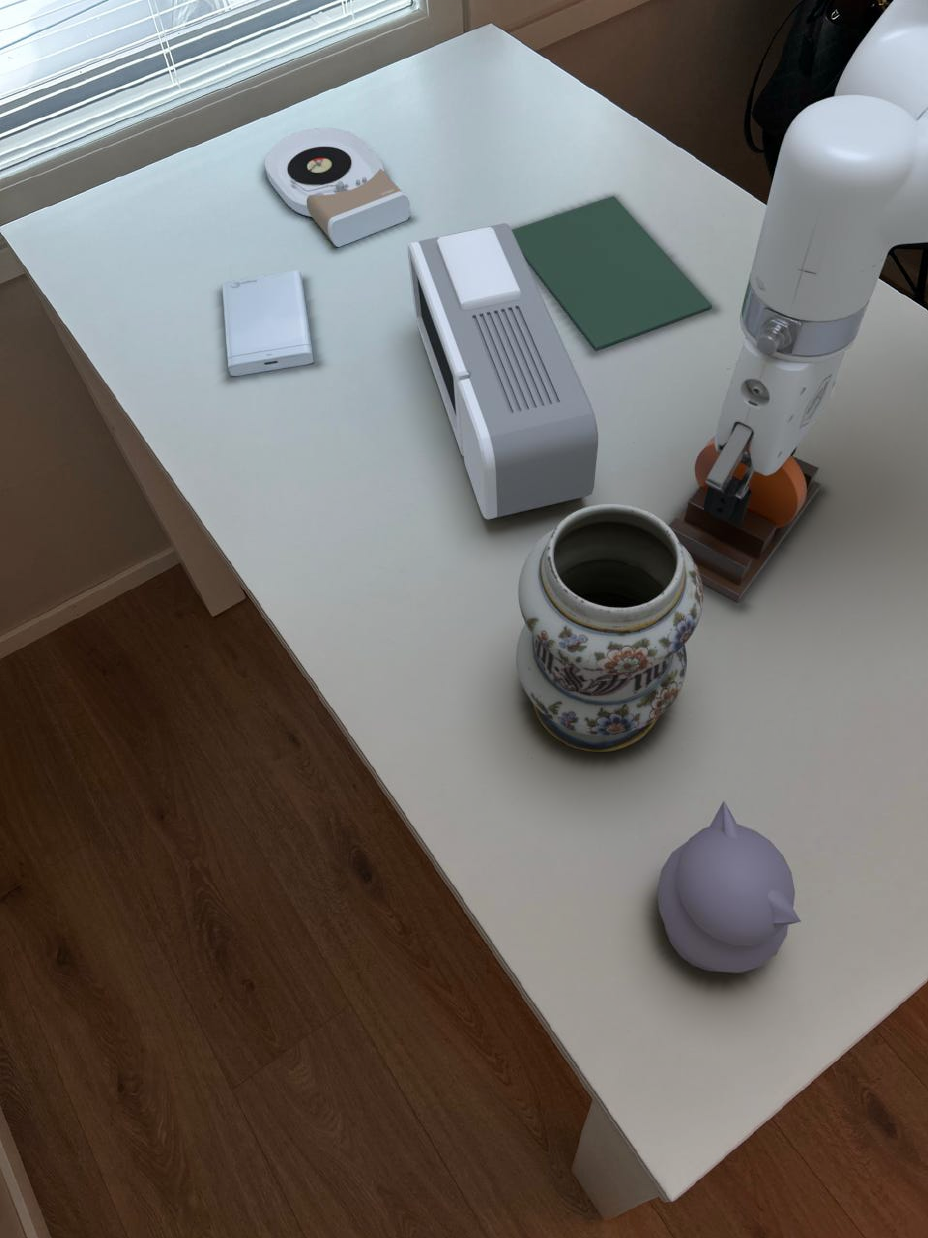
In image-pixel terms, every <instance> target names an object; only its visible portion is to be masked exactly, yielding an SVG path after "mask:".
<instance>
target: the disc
mask: <svg viewBox="0 0 928 1238" xmlns="http://www.w3.org/2000/svg"><path fill="white" fill-rule="evenodd" d="M749 448H750V444H749V446H748V448H747V449H746V451H747V452H749V453H750V451H749ZM721 452H722V451H721ZM721 452H719V453H718V452H717V450H716V448H715V435H714V436H713V437H711V438H710V439H709V441H708V442H707V443H706V444H705V445H704V447H703V448H702V449H701V450H700V451H699V453H698V454H697V456H696V459H695V463H694V475H695V480H696V483H697V485H698V488H699V487H703V488H705V489H707V490H708V484H707V483H706V479H707V477H708V475H709V473H710V471H711V470H712V468H713V466H714V464H715V463H716V461H717V459H718V457H719V455H720V454H721ZM747 468H748V466H747V465H745V464H743V463H741V462H739V463H738V465H737V467H736V469H735V470H734V472H733V475H732V476H734V477H736V478H738V479H740V480H742V478H743V476H744V474H745V472H746V470H747ZM749 489H750V490H751V491H752V494H751V498H750V501H749V504H748V507H747V510H748V511H750V512H752V513H754V514H756V515H758V516H760V517H762V518H764V519H766V520H768V521H770V522H772V523H774V524H776V525H777V527H776V528H780V527H783V526H784V525H786V524H788V523H789V522H790V521H792V519H793V518H794V517H795V516H796V514H797V513H798V511H799V510H800V509H801V507H802V506H803V504H804V502H805V499H806V494H807V485H806V481H805V477H804V475H803V472H802V470H801V468H800V467H799V465H798V464H797V462H796V461H795V460H794V458H793V457H792V456H791V455H790V456H789V457H788V458H787V460H786V461H785V462H784V463H783V465H782V466H781V467H780V468H779V469H778V470H777V471H776V472H774V473H773V474H770V475H767V476H765V475H763V474H761V473H758V472H757V473H756V475H755V477H754V479H753V481H752V483H751V485H750V487H749Z"/></svg>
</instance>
